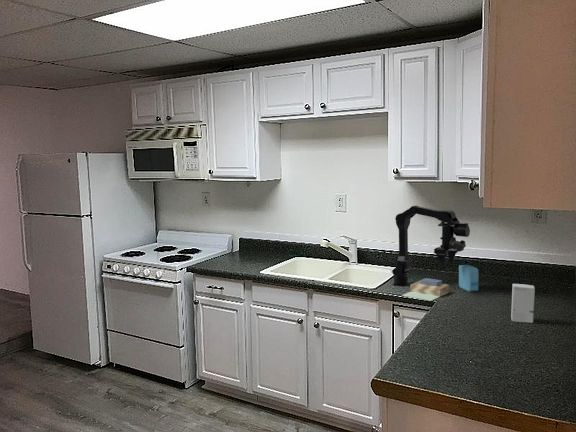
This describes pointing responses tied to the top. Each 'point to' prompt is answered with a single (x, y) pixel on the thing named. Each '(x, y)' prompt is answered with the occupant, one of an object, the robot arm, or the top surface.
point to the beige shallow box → (429, 289)
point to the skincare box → (522, 303)
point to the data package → (468, 278)
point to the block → (431, 282)
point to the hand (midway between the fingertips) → (447, 265)
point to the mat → (420, 296)
